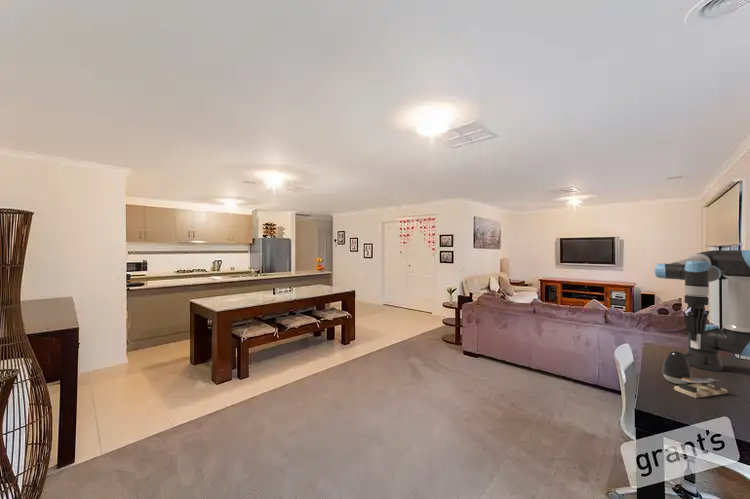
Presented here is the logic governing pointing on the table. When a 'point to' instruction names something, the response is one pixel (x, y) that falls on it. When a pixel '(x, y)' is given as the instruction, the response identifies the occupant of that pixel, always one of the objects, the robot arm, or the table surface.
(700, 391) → the mount
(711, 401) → the table surface
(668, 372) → the dark grey egg shape
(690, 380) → the grey flat bar
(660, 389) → the table surface
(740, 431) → the table surface
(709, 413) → the table surface
